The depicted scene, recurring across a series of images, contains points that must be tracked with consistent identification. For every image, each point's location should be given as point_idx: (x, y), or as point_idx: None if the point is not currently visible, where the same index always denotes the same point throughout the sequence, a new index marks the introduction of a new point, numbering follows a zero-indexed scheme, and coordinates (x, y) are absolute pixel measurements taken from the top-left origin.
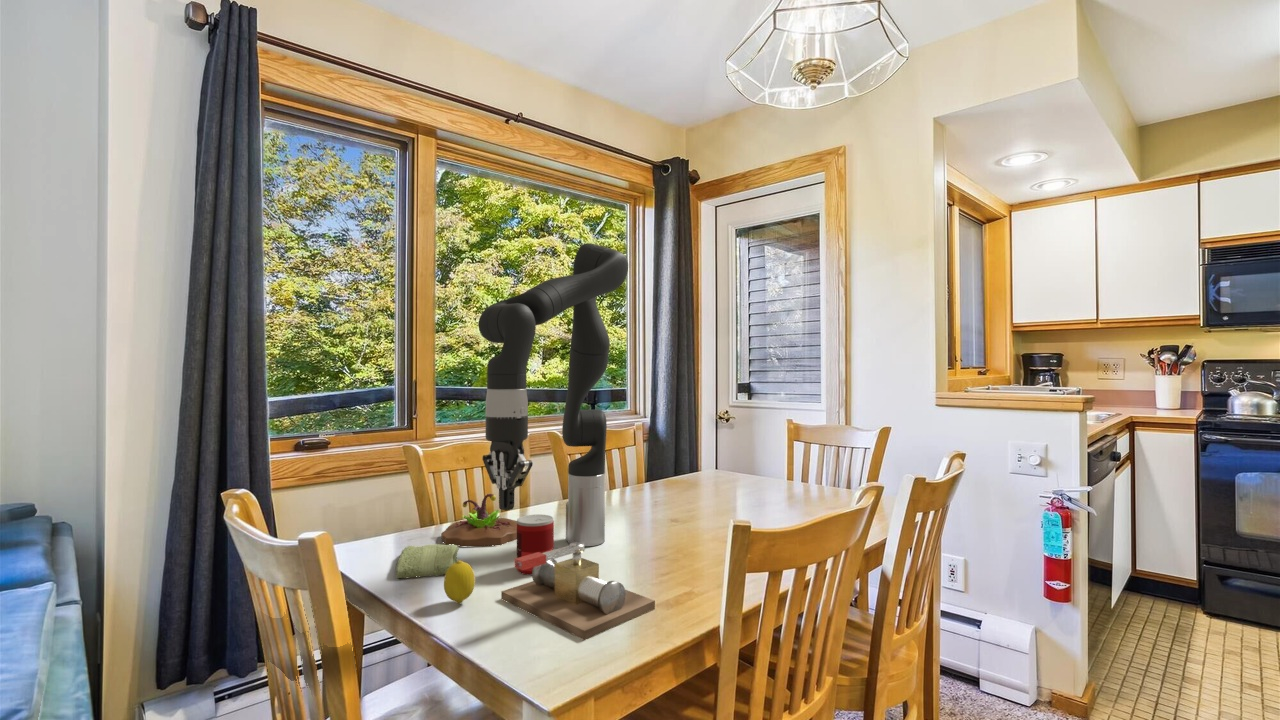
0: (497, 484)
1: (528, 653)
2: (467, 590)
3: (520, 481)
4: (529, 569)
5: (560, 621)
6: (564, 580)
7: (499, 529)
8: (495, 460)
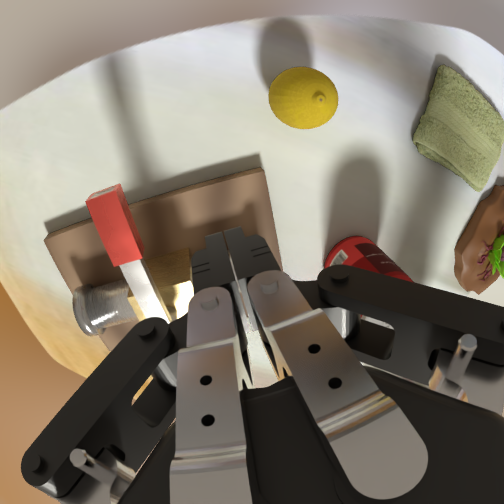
0: (270, 282)
1: (39, 149)
2: (269, 103)
3: (158, 388)
4: (336, 250)
5: (91, 221)
6: (160, 273)
7: (477, 261)
8: (342, 415)
